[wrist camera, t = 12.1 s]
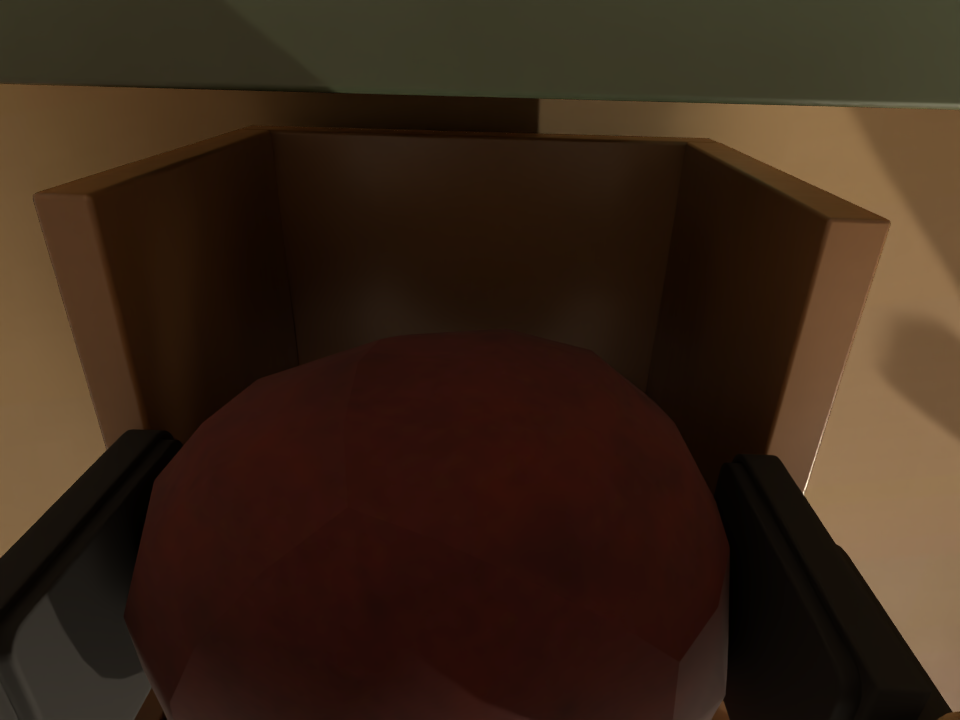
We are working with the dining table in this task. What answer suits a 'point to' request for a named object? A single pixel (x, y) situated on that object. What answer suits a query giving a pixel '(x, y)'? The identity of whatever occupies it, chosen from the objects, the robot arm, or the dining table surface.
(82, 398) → the dining table surface
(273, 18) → the drawer
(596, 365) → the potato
